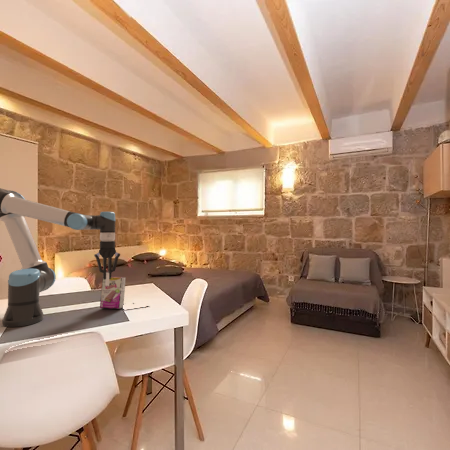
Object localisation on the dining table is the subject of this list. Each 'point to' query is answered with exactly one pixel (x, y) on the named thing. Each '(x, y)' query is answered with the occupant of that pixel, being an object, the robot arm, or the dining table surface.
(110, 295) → the candy bar box
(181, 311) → the dining table surface
